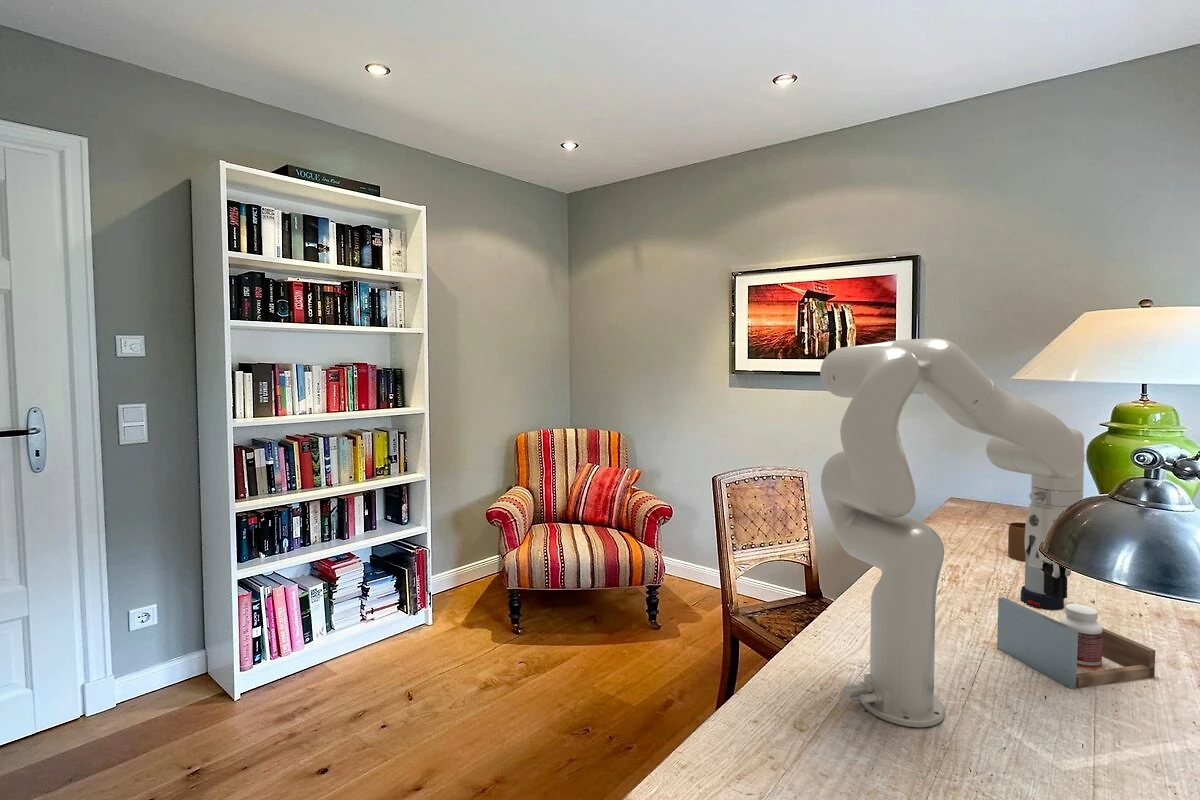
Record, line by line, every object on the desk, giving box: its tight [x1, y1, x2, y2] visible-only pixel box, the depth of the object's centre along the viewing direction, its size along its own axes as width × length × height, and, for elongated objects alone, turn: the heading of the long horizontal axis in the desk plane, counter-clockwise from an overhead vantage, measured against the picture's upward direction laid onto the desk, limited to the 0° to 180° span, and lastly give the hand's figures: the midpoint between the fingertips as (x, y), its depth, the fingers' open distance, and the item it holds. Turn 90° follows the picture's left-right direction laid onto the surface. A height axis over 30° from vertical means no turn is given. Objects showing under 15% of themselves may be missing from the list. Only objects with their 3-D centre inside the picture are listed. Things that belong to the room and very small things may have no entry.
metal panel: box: [996, 596, 1078, 689], centre depth 112 cm, size 1×15×10 cm, turn 11°
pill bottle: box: [1059, 603, 1103, 670], centre depth 114 cm, size 6×6×11 cm
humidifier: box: [1020, 555, 1065, 611], centre depth 142 cm, size 8×8×25 cm
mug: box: [1007, 521, 1026, 562], centre depth 173 cm, size 12×8×9 cm, turn 54°
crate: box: [1076, 627, 1157, 689], centre depth 114 cm, size 16×15×6 cm
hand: (1055, 595), depth 112 cm, fingers closed
